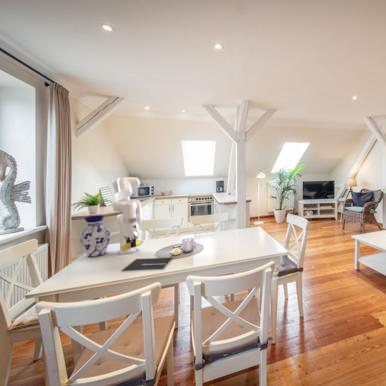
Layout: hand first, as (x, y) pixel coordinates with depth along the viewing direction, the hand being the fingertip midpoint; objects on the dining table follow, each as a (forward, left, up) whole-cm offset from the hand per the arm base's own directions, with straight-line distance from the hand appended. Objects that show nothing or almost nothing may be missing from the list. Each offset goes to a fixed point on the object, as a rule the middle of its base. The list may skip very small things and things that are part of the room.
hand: (131, 246), depth 153 cm
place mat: (-2, +10, -14) cm, 17 cm away
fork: (0, +15, -14) cm, 20 cm away
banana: (0, 0, -1) cm, 1 cm away
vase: (-26, -39, -14) cm, 49 cm away
